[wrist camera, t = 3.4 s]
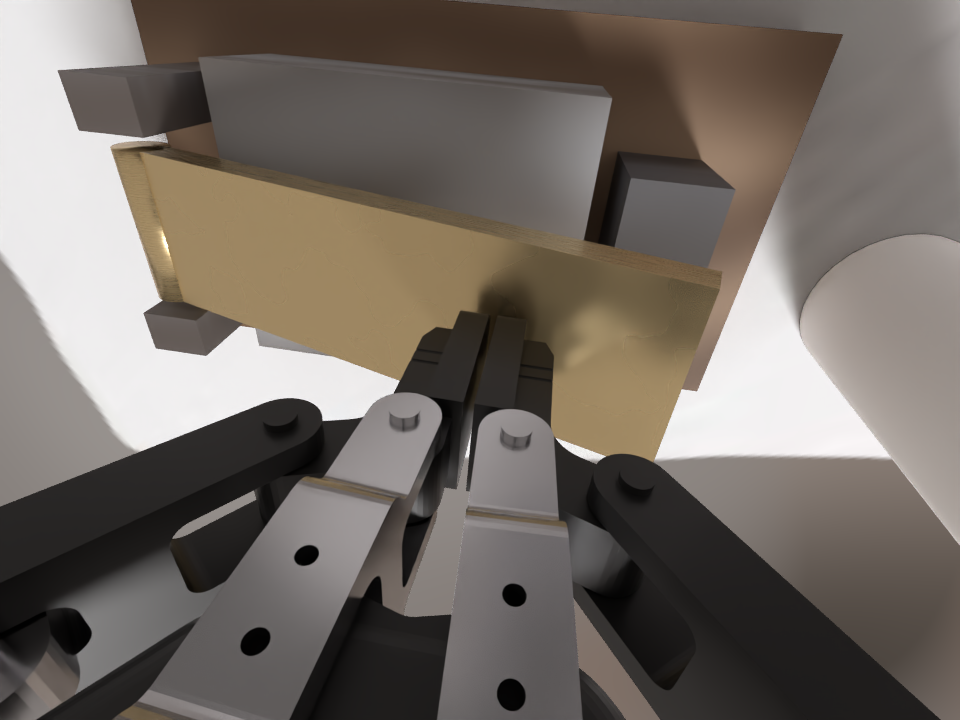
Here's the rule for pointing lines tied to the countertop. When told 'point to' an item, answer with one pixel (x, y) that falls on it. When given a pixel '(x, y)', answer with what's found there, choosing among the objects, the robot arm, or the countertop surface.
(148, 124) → the stand
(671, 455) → the countertop surface
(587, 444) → the plate
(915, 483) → the cylindrical container
